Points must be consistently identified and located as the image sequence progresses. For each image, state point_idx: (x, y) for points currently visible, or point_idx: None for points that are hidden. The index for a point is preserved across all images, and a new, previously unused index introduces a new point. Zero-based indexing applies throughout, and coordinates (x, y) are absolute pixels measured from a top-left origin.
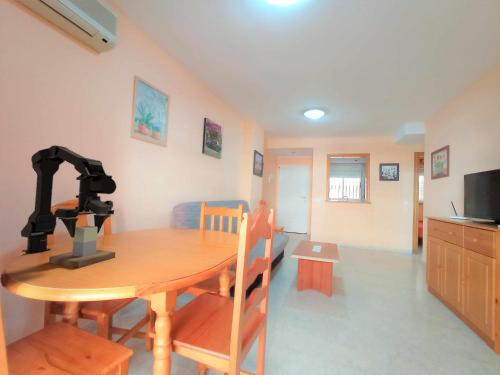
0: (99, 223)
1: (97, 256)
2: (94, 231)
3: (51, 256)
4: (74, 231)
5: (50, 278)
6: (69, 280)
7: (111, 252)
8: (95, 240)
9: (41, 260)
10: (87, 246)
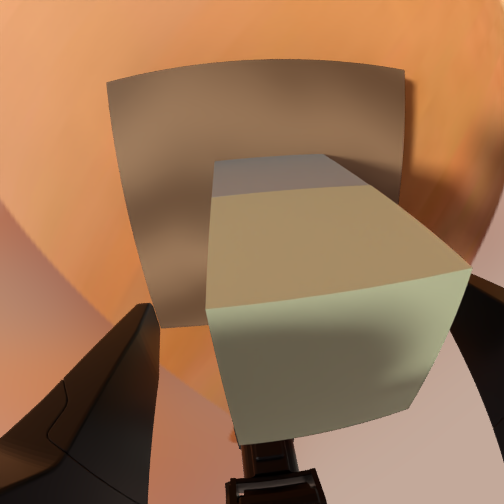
0: (105, 418)
1: (262, 76)
2: (266, 250)
3: None
4: (489, 291)
5: (483, 83)
6: (467, 3)
7: (124, 100)
8: (228, 194)
9: None
10: (312, 173)
